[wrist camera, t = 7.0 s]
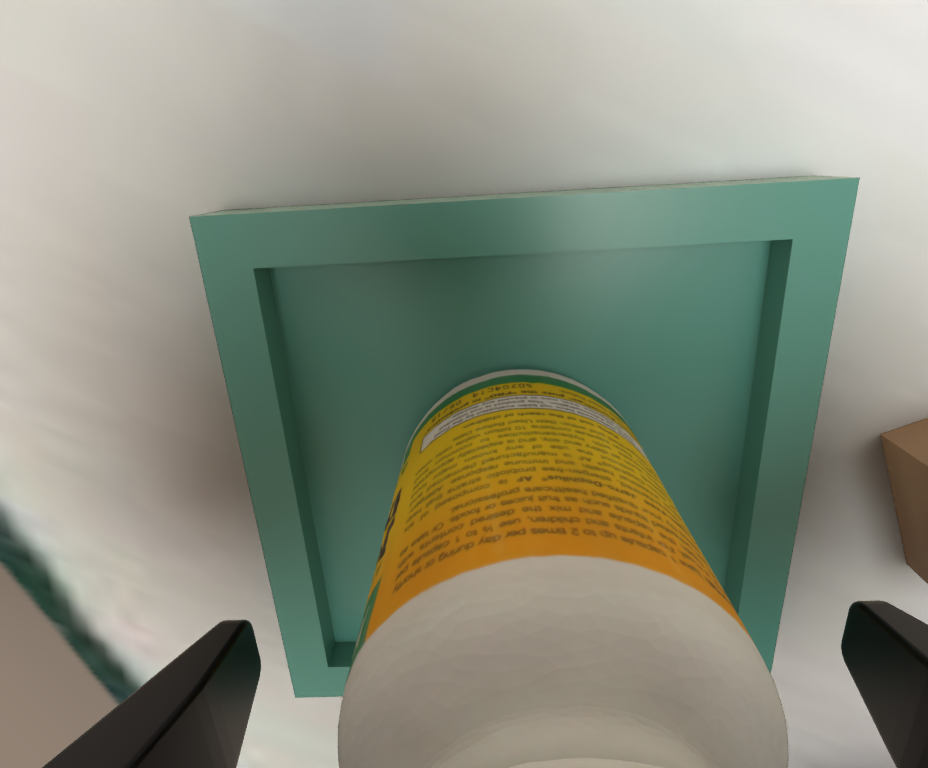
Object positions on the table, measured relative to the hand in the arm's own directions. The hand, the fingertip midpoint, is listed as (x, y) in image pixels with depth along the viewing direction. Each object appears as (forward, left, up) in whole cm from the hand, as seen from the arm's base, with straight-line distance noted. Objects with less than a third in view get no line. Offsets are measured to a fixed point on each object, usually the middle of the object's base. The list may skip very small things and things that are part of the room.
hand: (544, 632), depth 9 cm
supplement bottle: (0, 0, -5) cm, 5 cm away
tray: (0, 0, -6) cm, 6 cm away
